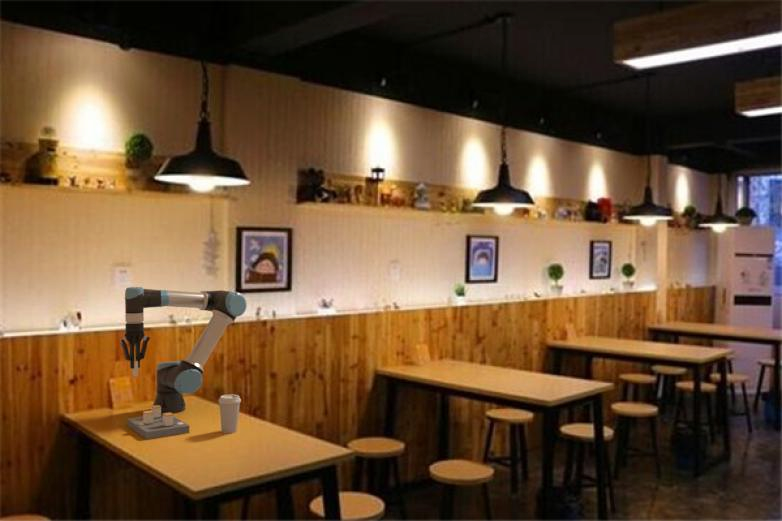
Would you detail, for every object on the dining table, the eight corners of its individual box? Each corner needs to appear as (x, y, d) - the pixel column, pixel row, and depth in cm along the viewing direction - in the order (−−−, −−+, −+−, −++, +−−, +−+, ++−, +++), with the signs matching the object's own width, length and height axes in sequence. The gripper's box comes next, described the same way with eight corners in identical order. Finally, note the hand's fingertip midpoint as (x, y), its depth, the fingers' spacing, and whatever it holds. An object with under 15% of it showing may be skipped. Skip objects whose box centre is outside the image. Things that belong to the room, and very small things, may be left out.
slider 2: (170, 423, 294) (170, 412, 294) (173, 425, 291) (173, 414, 291) (162, 424, 292) (162, 413, 292) (165, 426, 289) (165, 415, 289)
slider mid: (150, 421, 297) (150, 410, 297) (153, 422, 294) (153, 412, 294) (143, 422, 295) (143, 411, 295) (145, 423, 292) (146, 413, 292)
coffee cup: (237, 434, 291) (238, 399, 291) (215, 433, 291) (215, 398, 291) (242, 428, 301) (243, 394, 300) (221, 427, 301) (221, 393, 300)
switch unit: (167, 419, 313) (167, 412, 313) (189, 432, 292) (189, 425, 292) (126, 425, 302) (126, 418, 302) (146, 439, 281) (146, 431, 281)
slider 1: (158, 415, 307) (158, 404, 307) (161, 416, 304) (161, 406, 304) (151, 416, 305) (151, 405, 305) (153, 417, 302) (153, 407, 302)
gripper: (145, 320, 310) (146, 372, 311) (116, 322, 301) (117, 376, 302) (152, 321, 304) (153, 374, 305) (122, 324, 296) (123, 378, 297)
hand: (135, 375), depth 304 cm, fingers closed
